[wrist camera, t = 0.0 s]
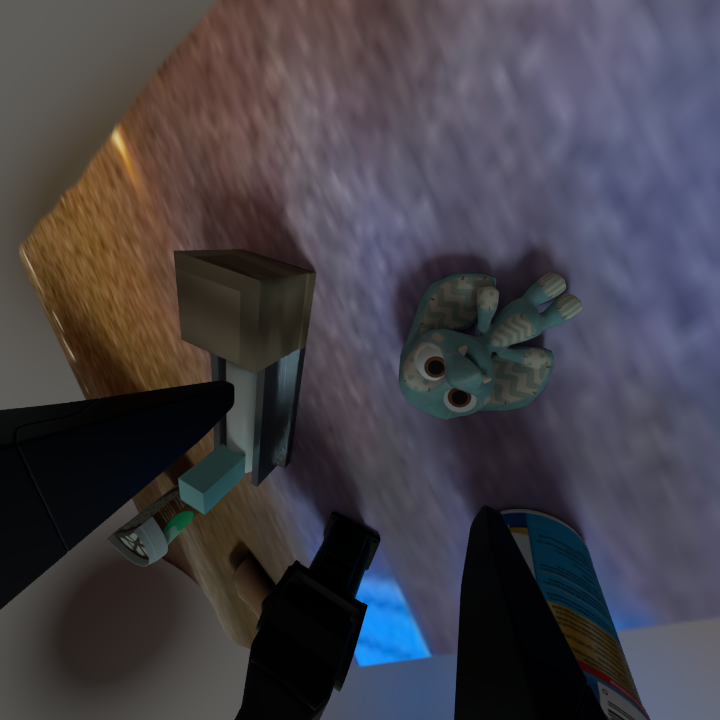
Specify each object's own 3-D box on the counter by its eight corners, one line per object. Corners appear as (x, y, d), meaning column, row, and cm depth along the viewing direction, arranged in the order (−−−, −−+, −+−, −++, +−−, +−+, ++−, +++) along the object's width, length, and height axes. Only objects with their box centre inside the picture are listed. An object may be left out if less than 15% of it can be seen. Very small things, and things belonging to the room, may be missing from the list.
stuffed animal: (683, 382, 13) (455, 491, 17) (595, 349, 19) (448, 432, 23) (542, 192, 12) (343, 352, 16) (502, 225, 19) (369, 333, 23)
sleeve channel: (289, 463, 34) (264, 491, 30) (237, 435, 36) (208, 458, 32) (305, 346, 27) (275, 363, 23) (239, 320, 29) (201, 331, 25)
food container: (192, 514, 49) (132, 571, 41) (171, 487, 49) (105, 539, 40) (228, 504, 43) (165, 568, 35) (205, 473, 42) (135, 530, 34)
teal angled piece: (267, 456, 33) (207, 516, 25) (243, 443, 34) (178, 497, 26) (275, 361, 27) (200, 404, 20) (246, 348, 28) (163, 385, 20)
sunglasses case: (223, 553, 50) (205, 587, 44) (256, 532, 50) (243, 563, 44) (279, 626, 52) (270, 668, 46) (310, 606, 52) (306, 645, 46)
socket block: (305, 346, 27) (257, 374, 21) (239, 320, 29) (179, 338, 23) (316, 272, 23) (263, 281, 18) (240, 248, 25) (171, 250, 20)
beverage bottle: (593, 585, 24) (870, 1436, 7) (486, 566, 28) (494, 1083, 11) (585, 508, 22) (962, 1472, 5) (471, 499, 26) (448, 1013, 8)
